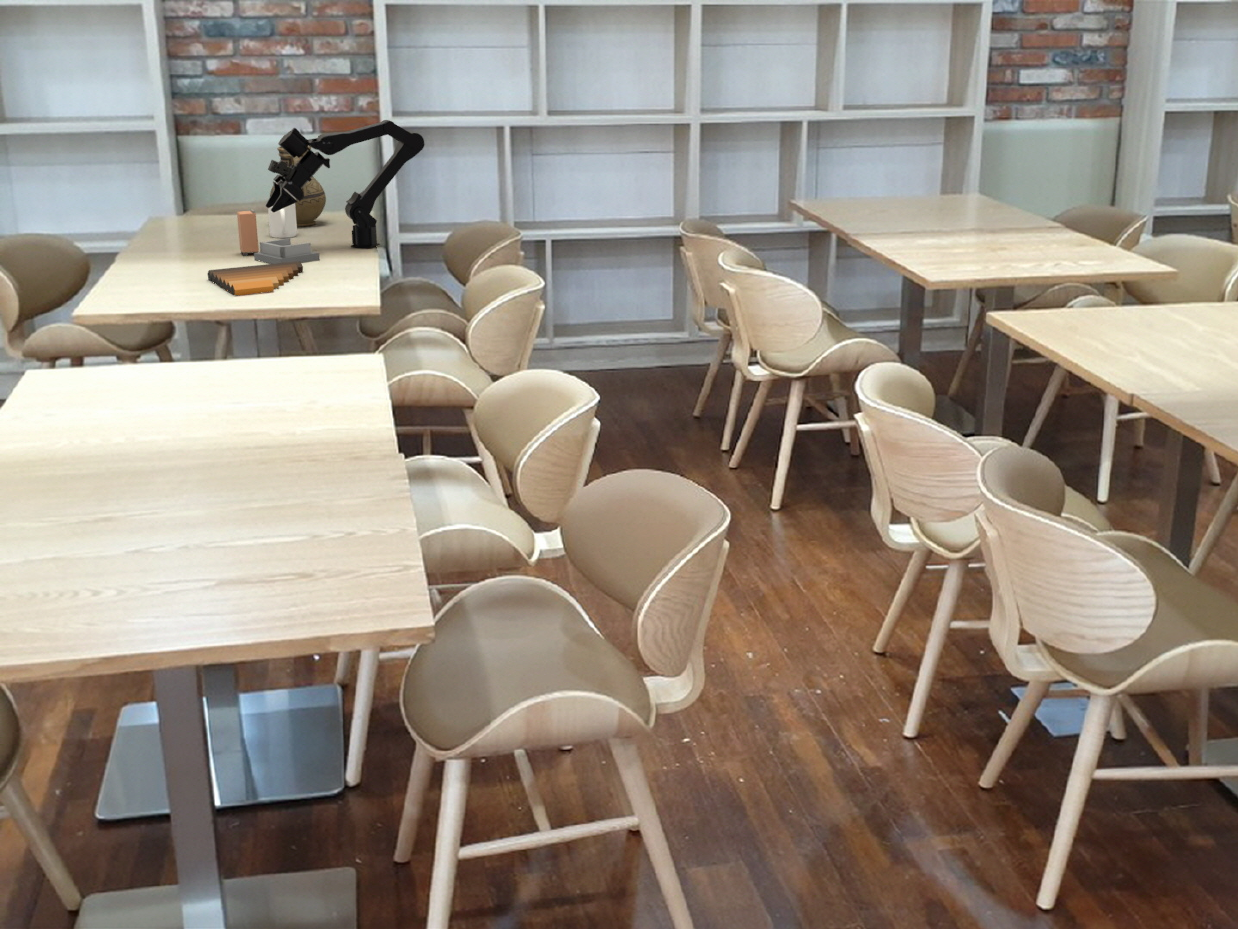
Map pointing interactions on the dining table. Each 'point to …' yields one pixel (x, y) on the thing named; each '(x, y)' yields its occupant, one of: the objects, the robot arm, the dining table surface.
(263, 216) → the dining table surface
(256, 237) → the peach block
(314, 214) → the decorative pitcher
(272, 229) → the mug
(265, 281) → the pan flute
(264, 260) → the dock
